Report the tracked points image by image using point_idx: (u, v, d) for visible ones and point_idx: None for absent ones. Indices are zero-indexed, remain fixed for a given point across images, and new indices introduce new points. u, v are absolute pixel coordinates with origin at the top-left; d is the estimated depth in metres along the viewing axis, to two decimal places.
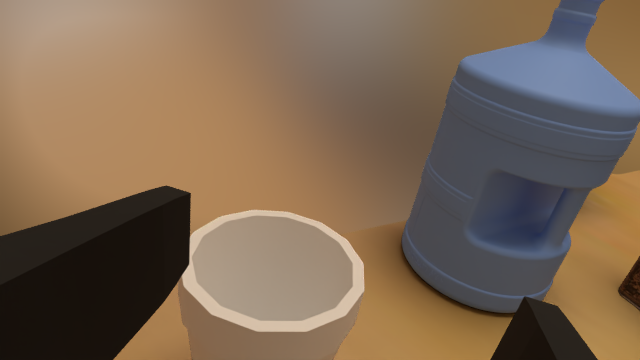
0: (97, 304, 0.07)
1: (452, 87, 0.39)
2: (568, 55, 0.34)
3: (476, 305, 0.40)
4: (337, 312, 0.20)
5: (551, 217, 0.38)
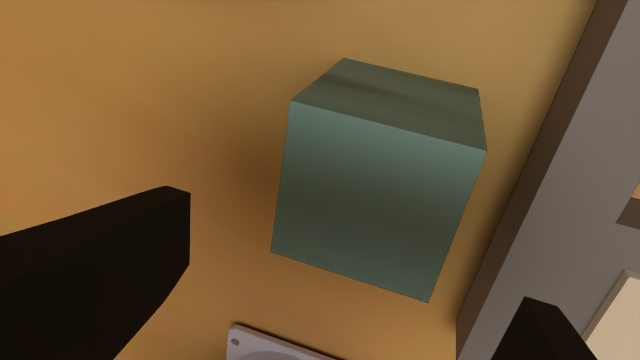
0: (97, 304, 0.07)
1: None
2: None
3: None
4: None
5: None
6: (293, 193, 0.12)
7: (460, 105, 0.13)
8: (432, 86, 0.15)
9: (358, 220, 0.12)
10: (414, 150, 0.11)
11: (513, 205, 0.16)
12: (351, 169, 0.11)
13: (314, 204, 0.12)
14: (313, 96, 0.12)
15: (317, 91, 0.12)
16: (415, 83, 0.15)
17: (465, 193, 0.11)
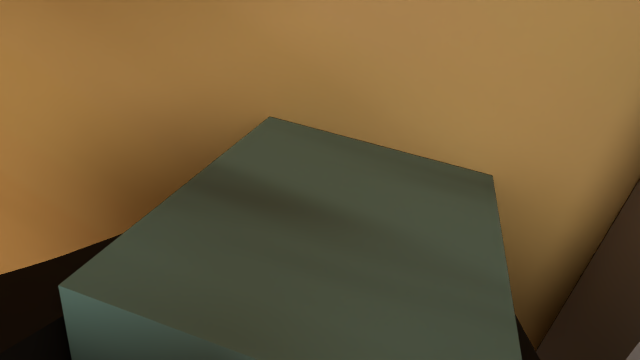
0: None
1: None
2: None
3: None
4: None
5: None
6: None
7: (463, 236, 0.07)
8: (412, 179, 0.08)
9: None
10: None
11: None
12: None
13: None
14: (135, 252, 0.05)
15: (158, 232, 0.06)
16: (382, 174, 0.08)
17: None
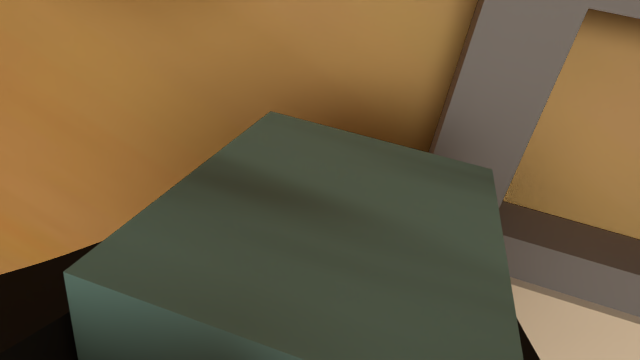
0: None
1: None
2: None
3: None
4: None
5: None
6: None
7: (463, 227, 0.07)
8: (412, 172, 0.08)
9: None
10: None
11: None
12: None
13: None
14: (138, 242, 0.05)
15: (161, 221, 0.06)
16: (382, 167, 0.08)
17: None
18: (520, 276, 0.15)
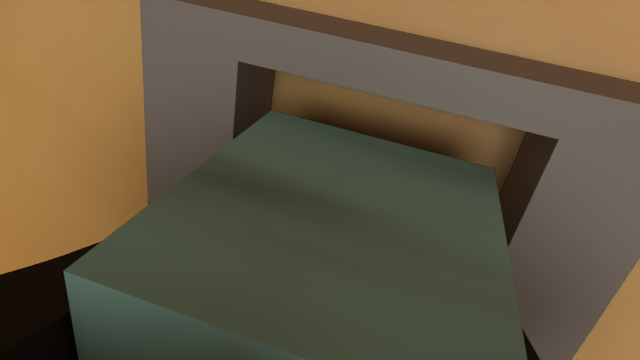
0: None
1: None
2: None
3: None
4: None
5: None
6: None
7: (465, 227, 0.07)
8: (414, 171, 0.08)
9: None
10: None
11: None
12: None
13: None
14: (139, 241, 0.05)
15: (162, 220, 0.06)
16: (384, 166, 0.08)
17: None
18: None
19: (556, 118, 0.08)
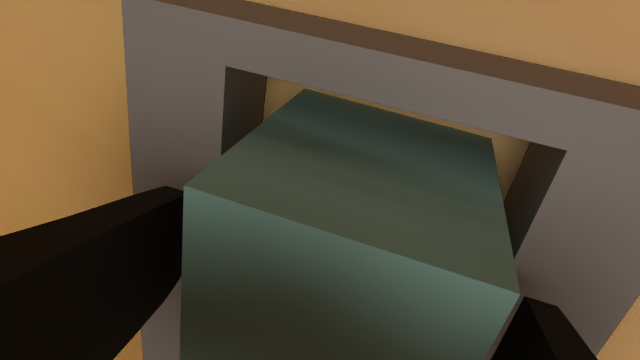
0: (97, 304, 0.07)
1: None
2: None
3: None
4: None
5: None
6: (203, 319, 0.08)
7: (468, 175, 0.09)
8: (426, 137, 0.10)
9: None
10: (392, 279, 0.06)
11: None
12: (288, 297, 0.07)
13: (235, 337, 0.08)
14: (229, 171, 0.07)
15: (241, 159, 0.08)
16: (402, 132, 0.10)
17: (477, 352, 0.06)
18: None
19: (564, 128, 0.08)
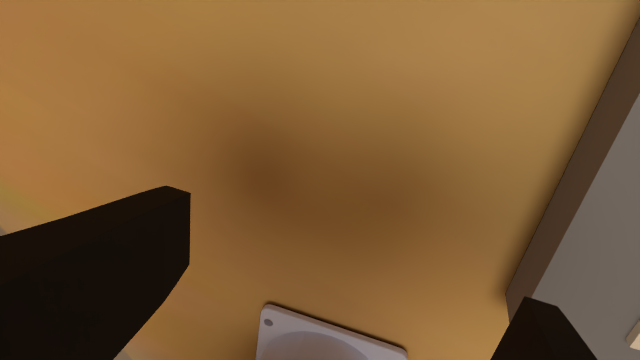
0: (97, 304, 0.07)
1: None
2: None
3: None
4: None
5: None
6: None
7: None
8: None
9: None
10: None
11: (576, 165, 0.15)
12: None
13: None
14: None
15: None
16: None
17: None
18: None
19: None
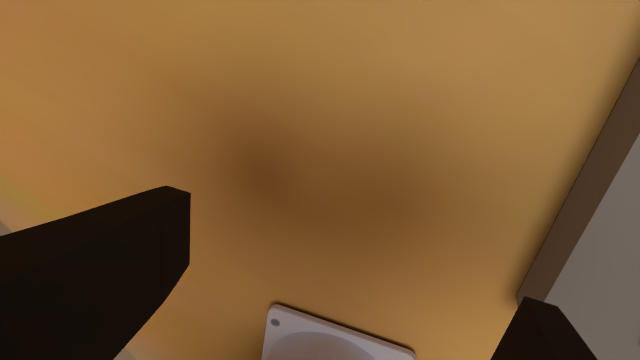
0: (97, 304, 0.07)
1: None
2: None
3: None
4: None
5: None
6: None
7: None
8: None
9: None
10: None
11: (592, 167, 0.15)
12: None
13: None
14: None
15: None
16: None
17: None
18: None
19: None
